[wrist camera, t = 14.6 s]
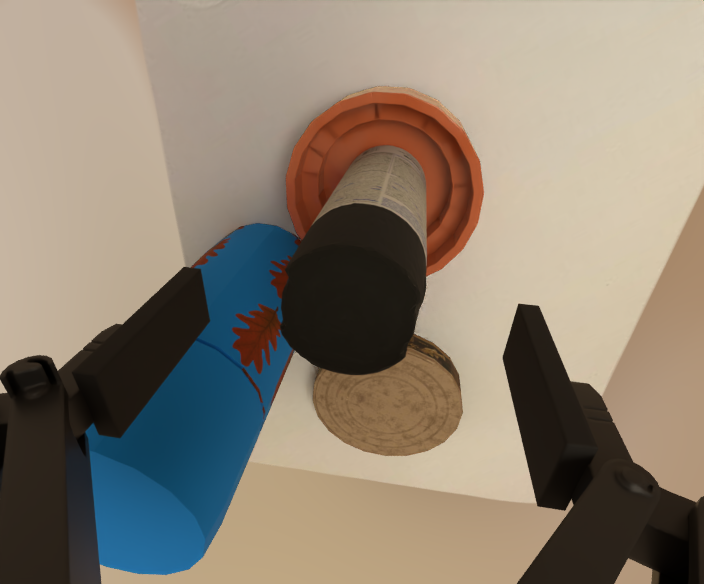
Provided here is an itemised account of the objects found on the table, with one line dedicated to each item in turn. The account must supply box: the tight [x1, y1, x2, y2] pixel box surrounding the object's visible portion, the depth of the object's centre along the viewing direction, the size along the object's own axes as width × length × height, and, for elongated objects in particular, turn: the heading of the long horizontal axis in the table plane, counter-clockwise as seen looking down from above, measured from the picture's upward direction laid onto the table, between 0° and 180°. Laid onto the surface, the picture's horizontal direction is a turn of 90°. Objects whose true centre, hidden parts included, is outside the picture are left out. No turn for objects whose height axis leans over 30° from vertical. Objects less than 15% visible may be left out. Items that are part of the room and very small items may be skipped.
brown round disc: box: [313, 334, 463, 456], centre depth 45 cm, size 16×16×3 cm
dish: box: [286, 86, 484, 276], centre depth 33 cm, size 14×14×5 cm
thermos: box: [86, 223, 301, 575], centre depth 30 cm, size 11×11×25 cm
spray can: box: [280, 145, 427, 375], centre depth 26 cm, size 7×7×20 cm
